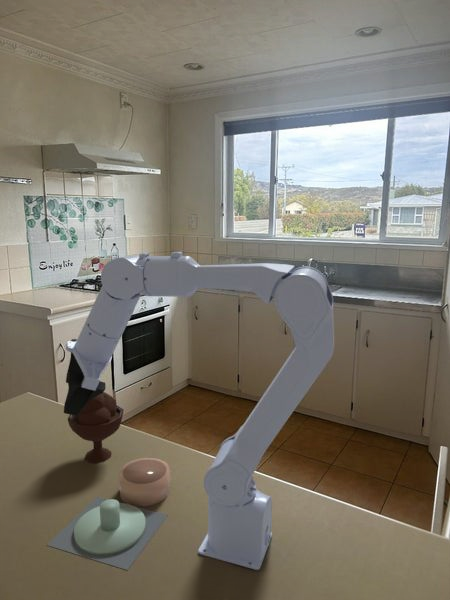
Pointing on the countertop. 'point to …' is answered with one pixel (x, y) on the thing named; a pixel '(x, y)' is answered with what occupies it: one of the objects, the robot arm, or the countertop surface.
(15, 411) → the countertop surface
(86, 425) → the ice cream bowl
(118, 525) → the lid
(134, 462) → the dish
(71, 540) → the placemat
